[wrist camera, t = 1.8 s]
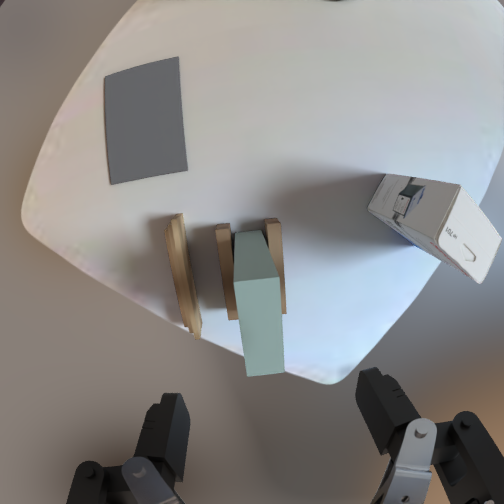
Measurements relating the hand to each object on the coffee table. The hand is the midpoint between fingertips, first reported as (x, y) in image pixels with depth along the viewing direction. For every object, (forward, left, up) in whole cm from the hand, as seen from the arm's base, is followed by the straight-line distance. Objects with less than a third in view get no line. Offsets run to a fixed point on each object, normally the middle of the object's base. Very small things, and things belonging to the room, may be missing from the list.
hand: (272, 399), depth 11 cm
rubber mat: (-16, -9, -17) cm, 25 cm away
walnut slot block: (0, 0, -17) cm, 17 cm away
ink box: (-4, +17, -18) cm, 25 cm away
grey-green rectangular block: (0, 0, -17) cm, 17 cm away
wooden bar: (0, -7, -18) cm, 19 cm away
